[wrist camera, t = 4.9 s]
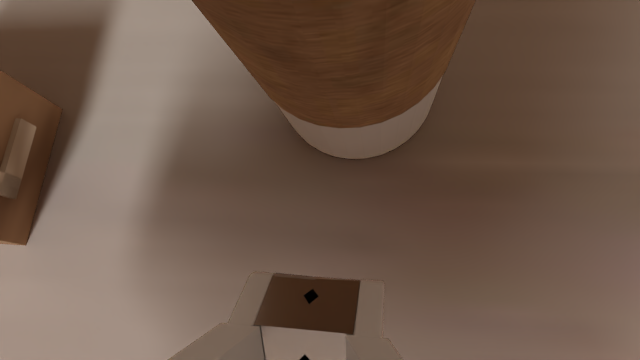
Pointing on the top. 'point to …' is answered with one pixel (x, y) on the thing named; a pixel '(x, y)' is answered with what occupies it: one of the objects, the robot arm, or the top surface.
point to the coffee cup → (345, 63)
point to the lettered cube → (22, 155)
